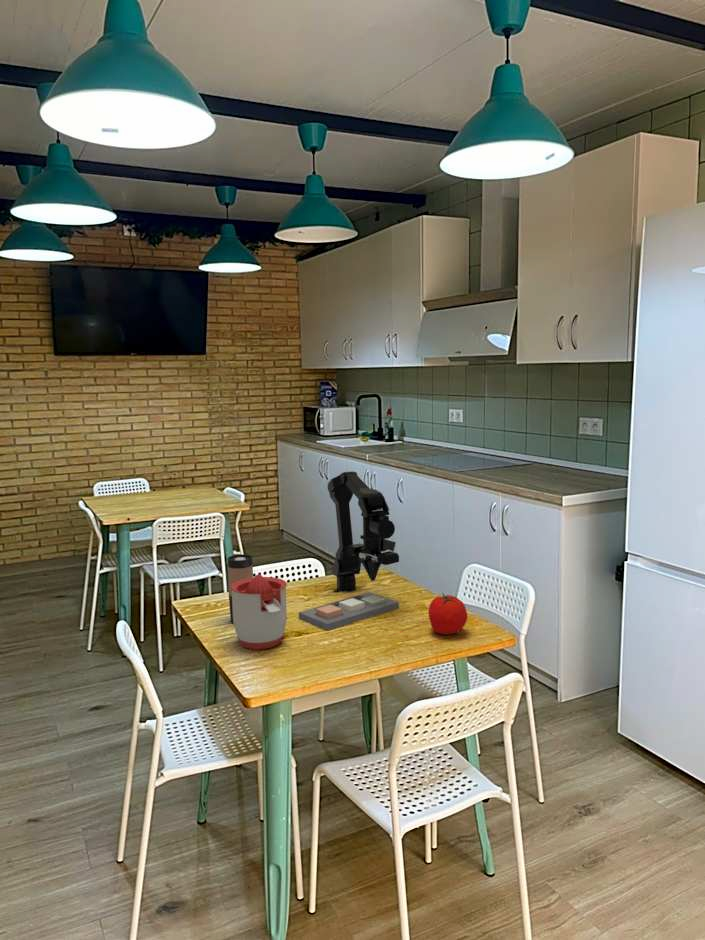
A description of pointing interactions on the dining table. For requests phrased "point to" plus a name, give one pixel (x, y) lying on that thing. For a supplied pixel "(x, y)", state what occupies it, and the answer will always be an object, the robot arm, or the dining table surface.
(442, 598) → the tomato
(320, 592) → the dining table surface
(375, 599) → the key sage
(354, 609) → the key offwhite
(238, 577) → the travel mug
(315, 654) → the dining table surface
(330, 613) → the key terracotta
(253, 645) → the citrus juicer
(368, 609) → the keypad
